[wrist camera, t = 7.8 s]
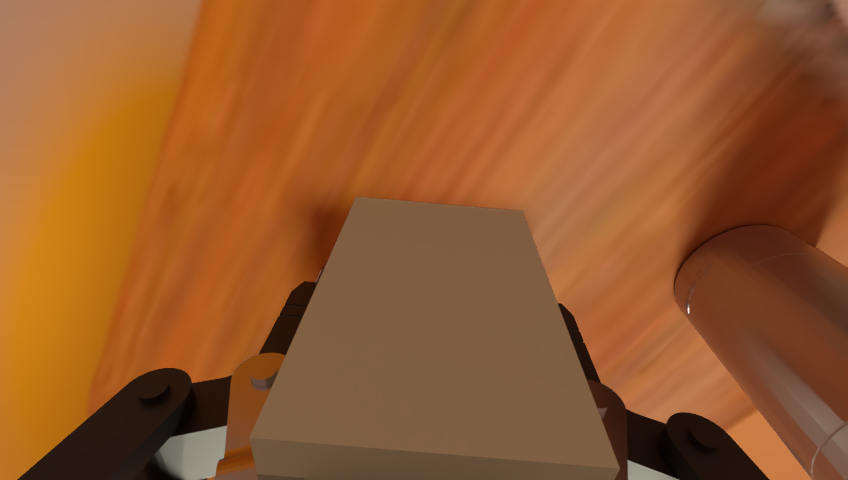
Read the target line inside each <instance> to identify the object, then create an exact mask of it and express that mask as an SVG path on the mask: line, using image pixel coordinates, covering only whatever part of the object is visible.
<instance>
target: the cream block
mask: <svg viewBox="0 0 848 480" xmlns="http://www.w3.org/2000/svg"><path fill="white" fill-rule="evenodd" d="M249 438H250V443H251V448H252V453H253V458H254V463H255V468H256V472H257V474H262V475H274V476H286V477H298V478H304V479H305V480H615V478H616V476H617V474H618V472H619V470H620V467H619V464H618V462H617V459H616V457H615V454H614V451H613V449H612V446H611V443H610V441H609V438H608V435H607V433H606V430H605V427H604V425H603V422H602V420H601V417H600V414H599V412H598V409H597V406H596V404H595V401H594V398H593V396H592V393H591V390H590V388H589V385H588V382H587V380H586V377H585V375H584V372H583V369H582V367H581V364H580V361H579V359H578V356H577V353H576V351H575V348H574V345H573V343H572V340H571V338H570V335H569V332H568V330H567V327H566V324H565V322H564V319H563V316H562V314H561V311H560V308H559V306H558V303H557V301H556V298H555V295H554V293H553V290H552V287H551V285H550V282H549V279H548V277H547V274H546V271H545V269H544V266H543V263H542V261H541V258H540V256H539V253H538V250H537V248H536V245H535V242H534V240H533V237H532V234H531V232H530V229H529V226H528V224H527V221H526V219H525V216H524V213H523V211H518V210H507V209H495V208H483V207H471V206H460V205H448V204H436V203H425V202H413V201H401V200H390V199H378V198H366V197H356V198H355V200H354V203H353V205H352V207H351V209H350V212H349V214H348V216H347V218H346V221H345V223H344V225H343V227H342V230H341V232H340V234H339V236H338V239H337V241H336V243H335V245H334V248H333V250H332V252H331V255H330V257H329V259H328V261H327V264H326V266H325V268H324V270H323V273H322V275H321V277H320V279H319V282H318V284H317V286H316V288H315V291H314V293H313V295H312V297H311V300H310V302H309V304H308V306H307V309H306V311H305V313H304V315H303V318H302V320H301V322H300V325H299V327H298V329H297V331H296V334H295V336H294V338H293V340H292V343H291V345H290V347H289V349H288V352H287V354H286V356H285V358H284V361H283V363H282V365H281V367H280V370H279V372H278V374H277V376H276V379H275V381H274V383H273V385H272V388H271V390H270V392H269V395H268V397H267V399H266V401H265V404H264V406H263V408H262V410H261V413H260V415H259V417H258V419H257V422H256V424H255V426H254V428H253V431H252V433H251V435H250V437H249Z"/></svg>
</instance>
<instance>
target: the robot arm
mask: <svg viewBox="0 0 848 480" xmlns="http://www.w3.org/2000/svg"><path fill="white" fill-rule="evenodd" d="M324 268H325V266H324V267H323V269H322V271H321V273H320V275H319V277H318V280H317V282H306V281H304V282H303V283H302V284H300V285H299V286H298V287H297V288H295V289H294V290H293V291H292V292H291V294H290V295H289V297H288V299H287V301H286V303H285V306H284V307H283V309H282V311H281V313H280V317H278V319H277V320H276V322H275V324H274V326H273V328H272V330H271V332H270V334H269V336H268V338H267V340H266V342H265V344H264V345H263V347H262V349H261V351H260V353H259V355H256V356H253V357H251V358H249V359H247V360H246V361H244V362H243V363H242V364H240V365H239V366H238V367H237V368H236V370H235V371H234V373H233V375H231V376H228V377H225V378H220V379H214V380H209V381H203V382H197V383H192V381H191V379H190V376H189V375H188V374H187V373H186V372H184V371H182V370H180V369H175V368H163V369H157V370H154V371H150V372H148V373H145V374H143V375H141V376H139V377H137V378H136V379H134V380H133V381H131V382H130V383H129V384H127V385H126V386H125V387H124V388H123V389H122V390H121V391H119V392H118V393H117V394H116V395H115V396H114V397H112V398H111V399H110V400H109V401H108V402H107V403H105V404H104V405H103V406H102V407H101V408H100V409H99V410H97V411H96V412H95V413H94V414H93V415H92V416H90V417H89V418H88V419H87V420H86V421H85V422H84V423H82V424H81V425H80V426H79V427H78V428H77V429H76V430H74V431H73V432H72V433H71V434H70V435H68V436H67V437H66V438H65V439H64V440H63V441H62V442H60V443H59V444H58V445H57V446H56V447H55V448H54V449H52V450H51V451H50V452H49V453H48V454H47V455H46V456H44V457H43V458H42V459H41V460H40V461H38V462H37V463H36V464H35V465H34V466H33V467H31V468H30V469H29V470H28V471H27V472H26V473H25V474H23V475H22V476H21V477H20V478H19V479H18V480H207V478H209V477H214V476H215V480H305V479H304V478H298V477H286V476H274V475H262V474H257V472H256V468H255V463H254V458H253V453H252V448H251V443H250V438H249V437H250V435H251V433H252V431H253V428H254V426H255V424H256V422H257V419H258V417H259V415H260V413H261V410H262V408H263V406H264V404H265V401H266V399H267V397H268V395H269V392H270V390H271V388H272V385H273V383H274V381H275V379H276V376H277V374H278V372H279V370H280V367H281V365H282V363H283V361H284V358H285V356H286V354H287V352H288V349H289V347H290V345H291V343H292V340H293V338H294V336H295V334H296V331H297V329H298V327H299V325H300V322H301V320H302V318H303V315H304V313H305V311H306V309H307V306H308V304H309V302H310V300H311V297H312V295H313V293H314V291H315V288H316V286H317V284H318V282H319V279H320V277H321V275H322V273H323V270H324ZM674 295H675V298H676V302H677V304H678V306H679V307H680V309H681V310H682V312H683V313H684V314H685V316H686V317H687V318H688V320H689V321H690V322H691V323H692V325H693V326H694V327H695V329H696V330H697V331H698V332H699V334H700V335H701V336H702V338H703V339H704V340H705V342H706V343H707V344H708V346H709V347H710V348H711V350H712V351H713V352H714V353H715V355H716V356H717V357H718V359H719V360H720V361H721V363H722V364H723V365H724V366H725V368H726V369H727V370H728V372H729V373H730V374H731V375H732V377H733V378H734V379H735V381H736V382H737V383H738V384H739V386H740V387H741V388H742V390H743V391H744V392H745V393H746V395H747V396H748V397H749V399H750V400H751V401H752V402H753V404H754V405H755V406H756V408H757V409H758V410H759V412H760V413H761V414H762V415H763V417H764V418H765V419H766V420H767V422H768V423H769V424H770V426H771V427H772V428H773V430H774V431H775V432H776V433H777V435H778V436H779V437H780V439H781V440H782V441H783V442H784V444H785V445H786V446H787V448H788V449H789V450H790V452H791V453H792V454H793V455H794V457H795V458H796V459H797V460H798V462H799V463H800V464H801V466H802V467H803V468H804V470H805V471H806V472H807V473H808V475H809V476H810V477H811V479H812V480H848V268H847V267H845V266H844V265H842V264H841V263H839V262H838V261H836V260H835V259H833V258H832V257H830V256H829V255H827V254H826V253H824V252H823V251H821V250H820V249H818V248H816V247H812V246H810V245H809V244H807V243H806V242H804V241H803V240H801V239H800V238H798V237H797V236H795V235H794V234H792V233H790V232H789V231H787V230H785V229H782V228H779V227H776V226H770V225H751V226H744V227H740V228H736V229H732V230H729V231H727V232H725V233H722V234H720V235H718V236H716V237H714V238H712V239H711V240H709V241H708V242H706V243H704V244H703V245H702V246H701V247H699V248H698V249H697V250H696V251H695V252H693V253H692V254H691V256H690V257H689V258H688V259H687V260H686V261H685V263H684V264H683V266H682V268H681V269H680V271H679V273H678V275H677V278H676V282H675V290H674ZM558 306H559V308H560V311H561V314H562V316H563V319H564V322H565V324H566V327H567V330H568V332H569V335H570V338H571V340H572V343H573V345H574V348H575V351H576V353H577V356H578V359H579V361H580V364H581V367H582V369H583V372H584V375H585V377H586V380H587V382H588V385H589V388H590V390H591V393H592V396H593V398H594V401H595V404H596V406H597V409H598V412H599V414H600V417H601V420H602V422H603V425H604V427H605V430H606V433H607V435H608V438H609V441H610V443H611V446H612V449H613V451H614V454H615V457H616V459H617V462H618V464H619V467H620V470H619V472H618V474H617V476H616V478H615V480H769V479H768V478H767V477H766V475H765V474H764V473H763V472H762V471H761V470H760V469H759V468H758V467H757V465H756V464H755V463H754V462H753V461H752V460H751V459H750V458H749V457H748V456H747V454H746V453H745V452H744V451H743V450H742V449H741V448H740V447H739V446H738V445H737V443H736V442H735V441H734V440H733V439H732V438H731V437H730V436H729V435H728V434H727V433H726V432H725V431H724V430H723V429H722V428H720V427H719V426H718V425H716V424H715V423H713V422H712V421H710V420H708V419H706V418H704V417H702V416H699V415H696V414H692V413H685V412H683V413H676V414H674V415H672V416H671V417H670V418H669V419H668V421H667V423H666V424H665V423H662V422H659V421H656V420H653V419H650V418H647V417H644V416H641V415H638V414H636V413H633V412H631V411H629V410H627V409H626V408H625V405H624V403H623V401H622V400H621V398H620V397H619V396H618V395H617V394H616V393H615V392H614V391H613V390H611V389H610V388H609V387H607V386H605V385H604V384H602V383H601V382H600V379H599V377H598V375H597V372H596V370H595V367H594V365H593V362H592V360H591V358H590V355H589V353H588V350H587V348H586V345H585V343H583V338H582V336H581V333H580V332H579V329H578V326H577V324H576V321H575V319H574V316H573V315H572V314H571V313H570V312H569V311H568V310H567V309H566V308H565V307H564V306H563V305H562V304H561V303H558Z"/></svg>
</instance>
